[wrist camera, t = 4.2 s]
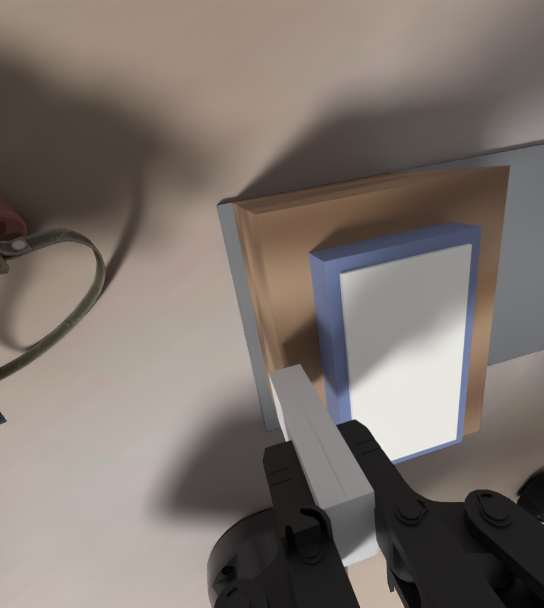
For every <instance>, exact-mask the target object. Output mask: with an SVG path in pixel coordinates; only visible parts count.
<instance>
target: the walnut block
mask: <svg viewBox="0 0 544 608" xmlns="http://www.w3.org/2000/svg"><path fill="white" fill-rule="evenodd" d="M509 172H510V165H505V166H490V167H474V168H458V169H443V170H427V171H411V172H396V173H389V174H387V173H386V174H383V175H382V174H380V175H378V176H376V175H375V176H373V177H371V176H370V177H367V178H366V177H364V178H362V179H360V178H359V179H357V180H355V179H354V180H351V181H350V180H348V181H346V182H344V181H343V182H341V183H339V182H338V183H335V184H334V183H332V184H330V185H329V184H327V185H325V186H323V185H322V186H319V187H318V186H316V187H314V188H312V187H311V188H309V189H307V188H305V189H303V190H302V189H300V190H298V191H297V190H295V191H292V192H291V191H289V192H287V193H286V192H284V193H282V194H280V193H279V194H276V195H275V194H273V195H271V196H270V195H268V196H266V197H264V196H263V197H260V198H259V197H257V198H255V199H254V198H252V199H250V200H249V199H246V200H244V201H243V200H241V201H239V202H238V201H236V202H234V203H232V202H231V203H232V206H233V211H234V216H235V221H236V226H237V231H238V236H239V241H240V246H241V251H242V256H243V261H244V266H245V271H246V276H247V281H248V286H249V291H250V295H251V300H252V305H253V310H254V315H255V320H256V325H257V330H258V335H259V340H260V345H261V350H262V355H263V360H264V365H265V370H266V375H267V380H268V385H269V390H270V394H271V397H272V400H273V403H274V405H275V401H274V397H273V392H272V387H271V383H270V378H269V372H273V371H276V370H280V369H284V368H287V367H291V366H294V365H298V364H300V365H301V366H302V368H303V370H304V371H305V373H306V375H307V377H308V378H309V380H310V382H311V383H312V385H313V387H314V389H315V390H316V392H317V394H318V396H319V397H320V399H321V401H322V402H323V404H324V406H325V408H326V409H327V403H326V394H325V386H324V377H323V369H322V361H321V352H320V344H319V336H318V327H317V319H316V310H315V302H314V294H313V285H312V277H311V269H310V260H309V253H310V252H314V251H319V250H323V249H328V248H333V247H337V246H342V245H346V244H351V243H356V242H360V241H365V240H369V239H374V238H379V237H383V236H388V235H392V234H397V233H401V232H406V231H411V230H415V229H420V228H424V227H429V226H434V225H438V224H443V223H447V222H454V223H461V224H468V225H475V226H482V230H481V241H480V252H479V263H478V274H477V285H476V296H475V307H474V318H473V329H472V340H471V351H470V362H469V373H468V384H467V395H466V406H465V417H464V428H463V436H465V435H468V434H471V433H474V432H477V431H479V429H480V421H481V412H482V404H483V395H484V387H485V378H486V369H487V361H488V352H489V344H490V335H491V326H492V318H493V309H494V301H495V292H496V283H497V275H498V266H499V258H500V249H501V240H502V232H503V223H504V215H505V206H506V197H507V189H508V180H509ZM275 408H276V406H275Z"/></svg>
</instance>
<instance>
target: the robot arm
mask: <svg viewBox="0 0 544 608" xmlns="http://www.w3.org/2000/svg"><path fill="white" fill-rule="evenodd" d="M269 378H270V383H271V387H272V392H273V397H274V401H275V406H276V411H277V416H278V420H279V423H280V426H281V429H282V431H283V434H284V437H285V440H286V442H283V443H280V444H277V445H274V446H271V447H267V448H265V453H264V458H263V464H264V469H265V473H266V477H267V481H268V485H269V489H270V494H271V498H272V502H273V506H274V509H270V510H267V511H263V512H261V513H258V514H256V515H253V516H251V517H249V518H247V519H246V520H244V521H242V522H240V523H239V524H237V525H236V526H235V527H233V528H232V529H231V530H229V531H228V532H227V533H226V534H225V535H224V536H223V537H222V538H221V539H220V540H219V542H218V543H217V544H216V546H215V547H214V549H213V551H212V552H211V555H210V557H209V560H208V565H207V579H208V595H209V600H210V603H211V606H212V608H360V606H359V604H358V601H357V598H356V596H355V593H354V591H353V588H352V586H351V583H350V581H349V578H348V569H347V566H348V565H351V564H354V563H356V562H359V561H361V560H364V559H367V558H369V557H372V556H374V555H377V554H379V552H378V545H379V547H380V549H381V551H382V553H383V555H384V557H385V559H386V562H387V580H388V585H389V589H390V592H393V591H394V587H395V589H396V591H397V593H398V595H399V597H400V599H401V601H402V603H403V605H404V607H405V608H544V524H542V523H541V522H540V521H538V520H537V519H536V518H534V517H533V516H532V515H530V514H529V513H528V512H526V511H525V510H524V509H522V508H521V507H520V506H518V505H517V504H516V503H514V502H513V501H512V500H510V499H509V498H507V497H505V496H503V495H502V494H500V493H498V492H494V491H491V490H475V491H473V492H470V493H469V494H468V496H467V497H466V499H465V502H437V501H432V500H429V499H426V498H424V497H423V496H421V495H419V494H417V493H416V492H414V491H413V490H412V489H411V488H410V487H409V486H408V484H407V483H406V482H405V480H404V479H403V478H402V476H401V475H400V473H399V472H398V470H397V469H396V468H395V466H394V465H393V463H392V462H391V461H390V459H389V458H388V456H387V455H386V453H385V452H384V451H383V450H382V449H381V446H380V445H379V443H378V442H377V441H376V440H375V438H374V436H373V435H372V434H371V432H370V431H369V429H368V428H367V427H366V426H365V425H363V424H362V423H360V422H359V421H357V420H356V419H354V420H350V421H347V422H344V423H341V424H338V425H335V423H334V421H333V420H332V418H331V416H330V414H329V413H328V411H327V409H326V408H325V406H324V404H323V402H322V401H321V399H320V397H319V396H318V394H317V392H316V390H315V389H314V387H313V385H312V383H311V382H310V380H309V378H308V377H307V375H306V373H305V371H304V370H303V368H302V366H301V365H300V364H298V365H294V366H291V367H287V368H284V369H280V370H276V371H273V372H269Z"/></svg>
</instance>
